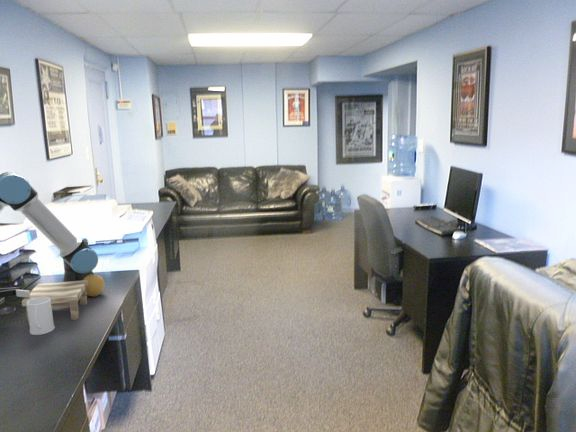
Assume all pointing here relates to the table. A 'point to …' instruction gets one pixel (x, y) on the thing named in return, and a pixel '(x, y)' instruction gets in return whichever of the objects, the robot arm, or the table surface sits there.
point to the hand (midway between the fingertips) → (14, 300)
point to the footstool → (61, 295)
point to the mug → (40, 315)
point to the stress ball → (94, 285)
